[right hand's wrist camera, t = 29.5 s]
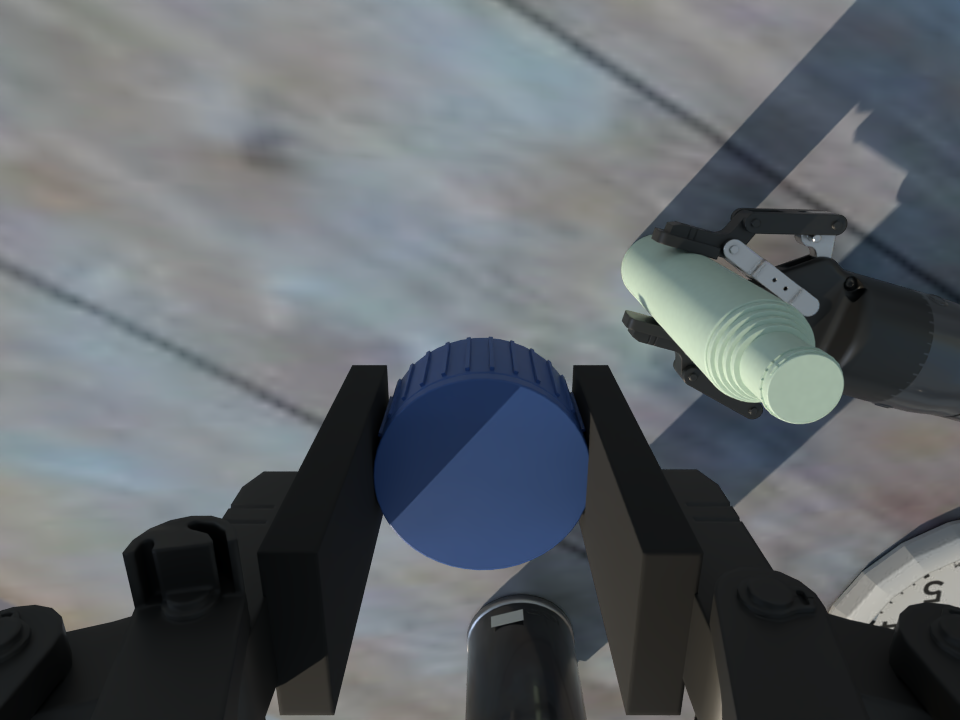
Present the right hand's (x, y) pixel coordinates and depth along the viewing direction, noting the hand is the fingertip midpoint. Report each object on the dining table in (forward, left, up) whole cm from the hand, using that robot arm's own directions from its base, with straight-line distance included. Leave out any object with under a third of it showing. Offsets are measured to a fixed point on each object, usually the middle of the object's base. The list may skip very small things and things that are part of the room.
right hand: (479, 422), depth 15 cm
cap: (0, 0, +2) cm, 2 cm away
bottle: (+3, +13, -33) cm, 36 cm away
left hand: (+2, +10, -27) cm, 29 cm away
